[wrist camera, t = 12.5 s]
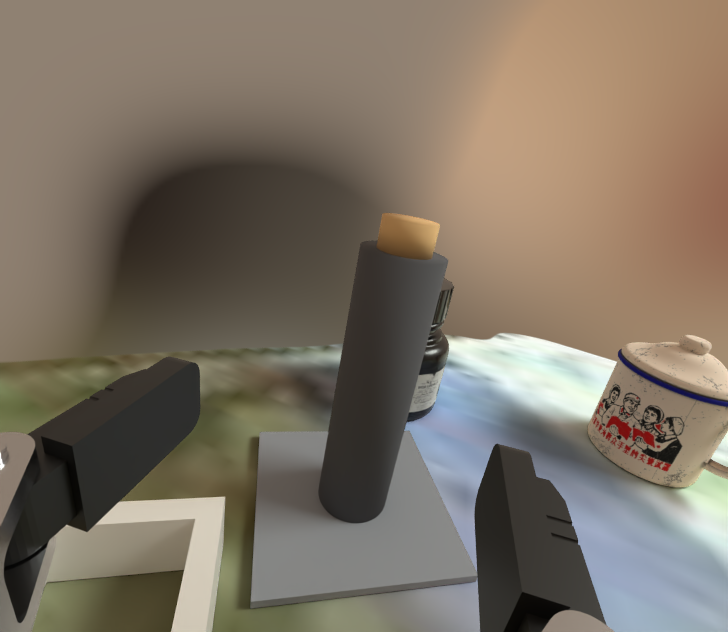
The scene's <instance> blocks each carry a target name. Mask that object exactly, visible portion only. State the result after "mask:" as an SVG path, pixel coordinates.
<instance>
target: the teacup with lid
mask: <svg viewBox="0 0 728 632" xmlns="http://www.w3.org/2000/svg"><path fill="white" fill-rule="evenodd" d="M711 347H712V346H711V343H710V342H708V341H707V340H705V339H702V338H699V337H696V336H692V335H685V336H683V337H681V339H680V341H679V343H673V342H661V343H655V344H651V343H642V342H635V343H629V344H627V345H625V346H624V347H623V348H622V349H620V350H619V352H618V357H619V359H618V362H617V364H616V366H615V368H614V370H613V372H612V375H611V377H610V379H609V381H608V383H607V385H606V388H605V390H604V392H603V394H602V396H601V398H600V401H599V403H598V405H597V407H596V409H595V412H594V414H593V416H592V418H591V420H590V422H589V425H588V435H589V437H590V439H591V441H592V443H593V444H594V445H595V446H596V448H597V449H598V450H599V451H600V452H601V453H602V454H603V455H605V456H606V457H607V458H608V459H610V460H611V461H612V462H614V463H615V464H617V465H618V466H620V467H621V468H623V469H625V470H626V471H628V472H630V473H632V474H634V475H636V476H638V477H640V478H643V479H645V480H648V481H650V482H653V483H656V484H660V485H664V486H669V487H687V486H690V485H692V484H694V483H695V482H696V481H697V479H698V478H699V476H700V474H701V473H702V471H703V470H704V469H706V470H708V471H709V472H711V473H713V474H715V475H718V476H720V477H723V478H726V479H728V467H726V466H723V465H721V464H719V463H717V462H715V461H713V460H712V459H711V457H712V455H713V454H714V452H715V450H716V449H717V447H718V446H719V444H720V443H721V441H722V439H723V438H724V436H725V435H726V433H727V431H728V370H727V369H726V368H725V366H724V365H723V364H722V363H721V362H720V361H719V360H718V359H716V358H715V357H713V356H712V355H710V354H708V352H709V351H710V350H711Z"/></svg>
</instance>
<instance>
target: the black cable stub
mask: <svg viewBox="0 0 728 632" xmlns="http://www.w3.org/2000/svg"><path fill="white" fill-rule="evenodd" d="M439 227H440V224H438V223H435V222H433V221H429V220H425V219H421V218H417V217H412V216H407V215H401V214H392V213H384V214H383V215H382V220H381V226H380V231H379V236H378V241H365V242H362V243H361V244H360V251H359V256H358V262H357V268H356V274H355V279H354V285H353V291H352V297H351V303H350V309H349V314H348V320H347V326H346V332H345V338H344V343H343V349H342V355H341V361H340V367H339V373H338V378H337V384H336V390H335V396H334V402H333V407H332V413H331V419H330V425H329V431H328V437H327V442H326V448H325V454H324V460H323V466H322V471H321V477H320V483H319V490H318V495H319V499H320V502H321V504H322V506H323V507H324V508H325V510H326V511H327V512H328V513H329V514H331V515H332V516H334V517H335V518H337V519H339V520H342V521H344V522H349V523H364V522H368V521H370V520H373V519H374V518H376V517H377V516H378V515H379V514H380V513H381V512H382V510H383V509H384V506H385V503H386V499H387V495H388V491H389V487H390V483H391V479H392V476H393V472H394V468H395V464H396V460H397V456H398V453H399V449H400V445H401V441H402V437H403V433H404V429H405V426H406V422H407V418H408V414H409V410H410V406H411V403H412V399H413V395H414V391H415V387H416V383H417V380H418V376H419V372H420V368H421V364H422V360H423V356H424V353H425V349H426V345H427V341H428V337H429V333H430V330H431V326H432V322H433V318H434V314H435V310H436V306H437V303H438V299H439V295H440V291H441V287H442V283H443V280H444V276H445V272H446V268H447V264H448V260H447V259H446V258H445V257H444V256H442V255H439V254H437V253H435V252H434V248H435V244H436V240H437V236H438V231H439Z"/></svg>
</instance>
